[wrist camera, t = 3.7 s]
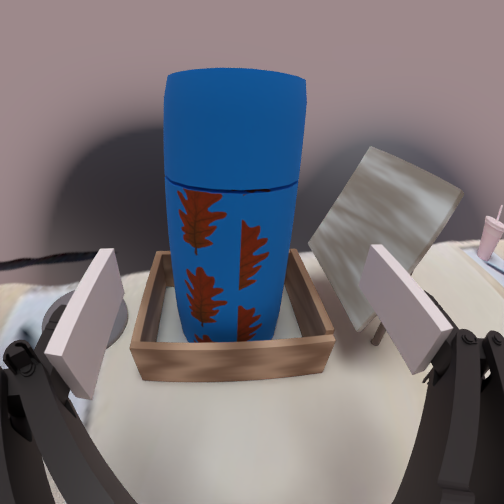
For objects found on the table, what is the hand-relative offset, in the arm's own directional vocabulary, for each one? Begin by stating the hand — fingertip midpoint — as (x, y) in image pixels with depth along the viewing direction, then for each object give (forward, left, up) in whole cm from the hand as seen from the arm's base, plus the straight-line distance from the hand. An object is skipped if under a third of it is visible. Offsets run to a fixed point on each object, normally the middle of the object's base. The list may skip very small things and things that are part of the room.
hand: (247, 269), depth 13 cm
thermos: (0, +11, -15) cm, 19 cm away
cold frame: (+4, +11, -15) cm, 19 cm away
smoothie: (+61, +23, -15) cm, 67 cm away
